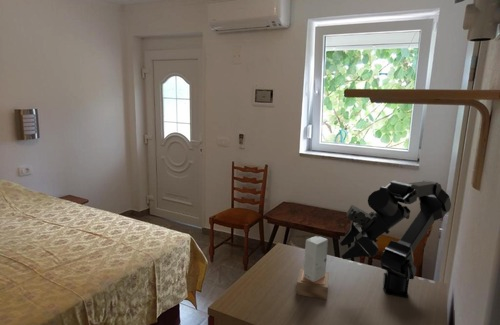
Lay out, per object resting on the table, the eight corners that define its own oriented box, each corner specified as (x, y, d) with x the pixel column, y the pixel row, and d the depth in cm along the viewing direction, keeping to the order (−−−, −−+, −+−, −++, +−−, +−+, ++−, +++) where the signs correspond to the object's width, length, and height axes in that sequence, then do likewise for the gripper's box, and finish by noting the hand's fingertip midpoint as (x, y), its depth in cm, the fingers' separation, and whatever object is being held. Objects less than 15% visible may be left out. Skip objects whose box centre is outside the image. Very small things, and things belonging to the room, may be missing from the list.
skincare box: (314, 282, 99) (317, 244, 97) (302, 276, 102) (304, 239, 100) (326, 275, 103) (329, 239, 101) (314, 270, 106) (316, 234, 104)
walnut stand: (328, 283, 106) (329, 271, 106) (326, 299, 98) (327, 286, 97) (299, 279, 109) (300, 267, 108) (296, 294, 100) (297, 281, 99)
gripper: (361, 190, 104) (323, 220, 109) (369, 208, 86) (323, 243, 91) (385, 216, 104) (346, 245, 108) (398, 240, 86) (350, 273, 90)
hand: (341, 250), depth 99 cm, fingers open, 9 cm apart
